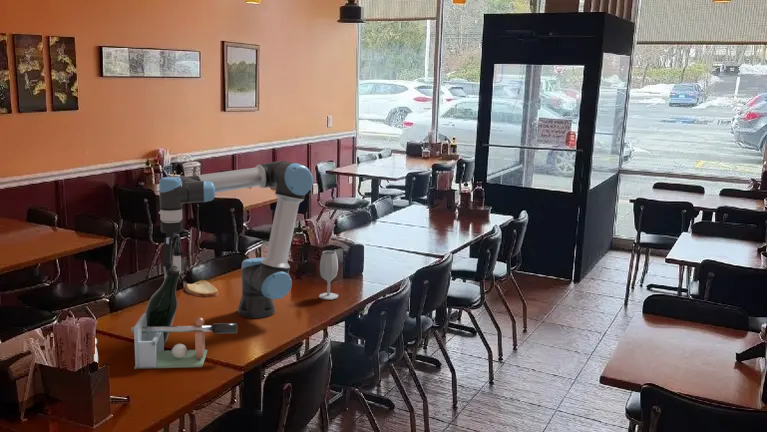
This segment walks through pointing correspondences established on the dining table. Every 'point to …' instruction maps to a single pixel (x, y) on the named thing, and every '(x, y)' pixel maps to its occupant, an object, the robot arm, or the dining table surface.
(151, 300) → the dark wine bottle
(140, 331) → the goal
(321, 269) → the wineglass
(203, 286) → the slice of bread
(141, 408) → the dining table surface
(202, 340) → the foosball rod
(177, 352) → the ball
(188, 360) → the pitch mat
